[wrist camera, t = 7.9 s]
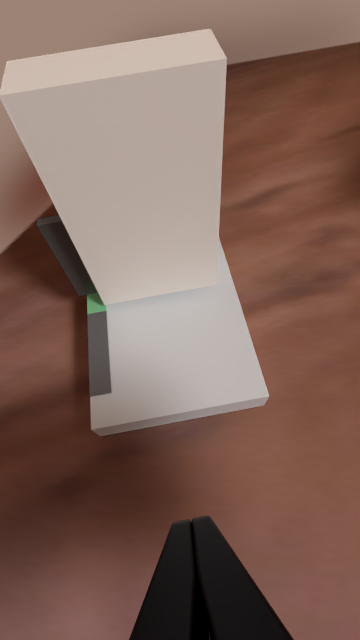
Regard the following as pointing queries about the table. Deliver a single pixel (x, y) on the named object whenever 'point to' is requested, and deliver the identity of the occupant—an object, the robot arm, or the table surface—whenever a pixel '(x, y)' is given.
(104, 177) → the cream upright slab
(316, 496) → the table surface
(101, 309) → the base
